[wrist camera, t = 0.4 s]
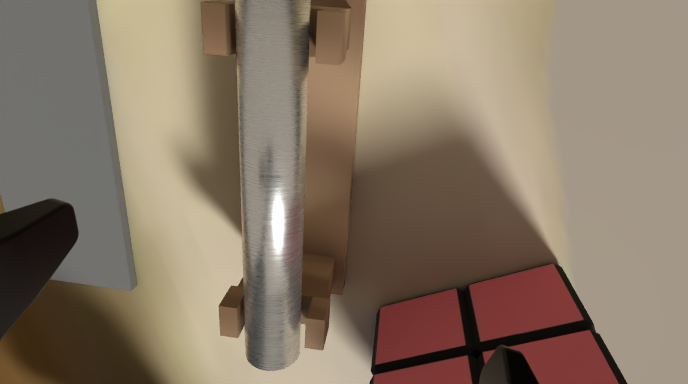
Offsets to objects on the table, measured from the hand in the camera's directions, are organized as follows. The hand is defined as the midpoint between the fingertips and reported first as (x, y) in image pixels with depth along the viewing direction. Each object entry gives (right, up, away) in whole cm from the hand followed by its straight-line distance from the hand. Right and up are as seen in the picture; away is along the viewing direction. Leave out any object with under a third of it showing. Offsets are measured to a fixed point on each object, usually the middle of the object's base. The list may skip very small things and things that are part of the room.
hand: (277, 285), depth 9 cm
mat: (-14, +4, +15) cm, 21 cm away
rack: (-1, +4, +13) cm, 14 cm away
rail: (-1, +2, +9) cm, 10 cm away
